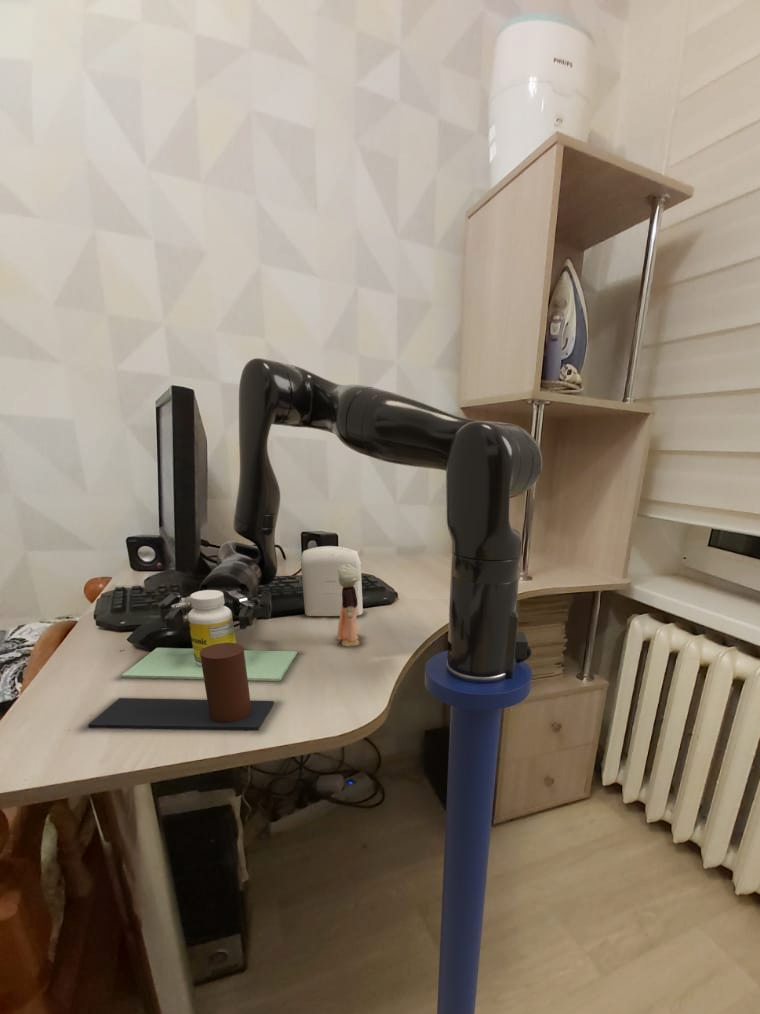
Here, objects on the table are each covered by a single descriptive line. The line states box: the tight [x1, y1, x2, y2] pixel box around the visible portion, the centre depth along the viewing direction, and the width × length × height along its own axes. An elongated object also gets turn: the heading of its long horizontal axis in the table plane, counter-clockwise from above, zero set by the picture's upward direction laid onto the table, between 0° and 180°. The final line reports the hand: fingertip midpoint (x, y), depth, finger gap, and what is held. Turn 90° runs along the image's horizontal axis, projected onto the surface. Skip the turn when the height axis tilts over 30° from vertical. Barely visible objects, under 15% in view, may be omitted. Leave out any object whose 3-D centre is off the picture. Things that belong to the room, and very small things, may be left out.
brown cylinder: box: [200, 642, 251, 723], centre depth 59 cm, size 4×4×8 cm
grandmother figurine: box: [337, 564, 362, 647], centre depth 80 cm, size 8×4×13 cm, turn 23°
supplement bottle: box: [187, 590, 237, 666], centre depth 71 cm, size 5×5×10 cm
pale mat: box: [121, 647, 298, 682], centre depth 72 cm, size 20×9×1 cm, turn 94°
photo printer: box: [300, 545, 364, 617], centre depth 91 cm, size 10×4×12 cm, turn 99°
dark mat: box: [87, 697, 275, 731], centre depth 60 cm, size 18×6×1 cm, turn 94°
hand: (207, 624), depth 68 cm, fingers open, 8 cm apart
